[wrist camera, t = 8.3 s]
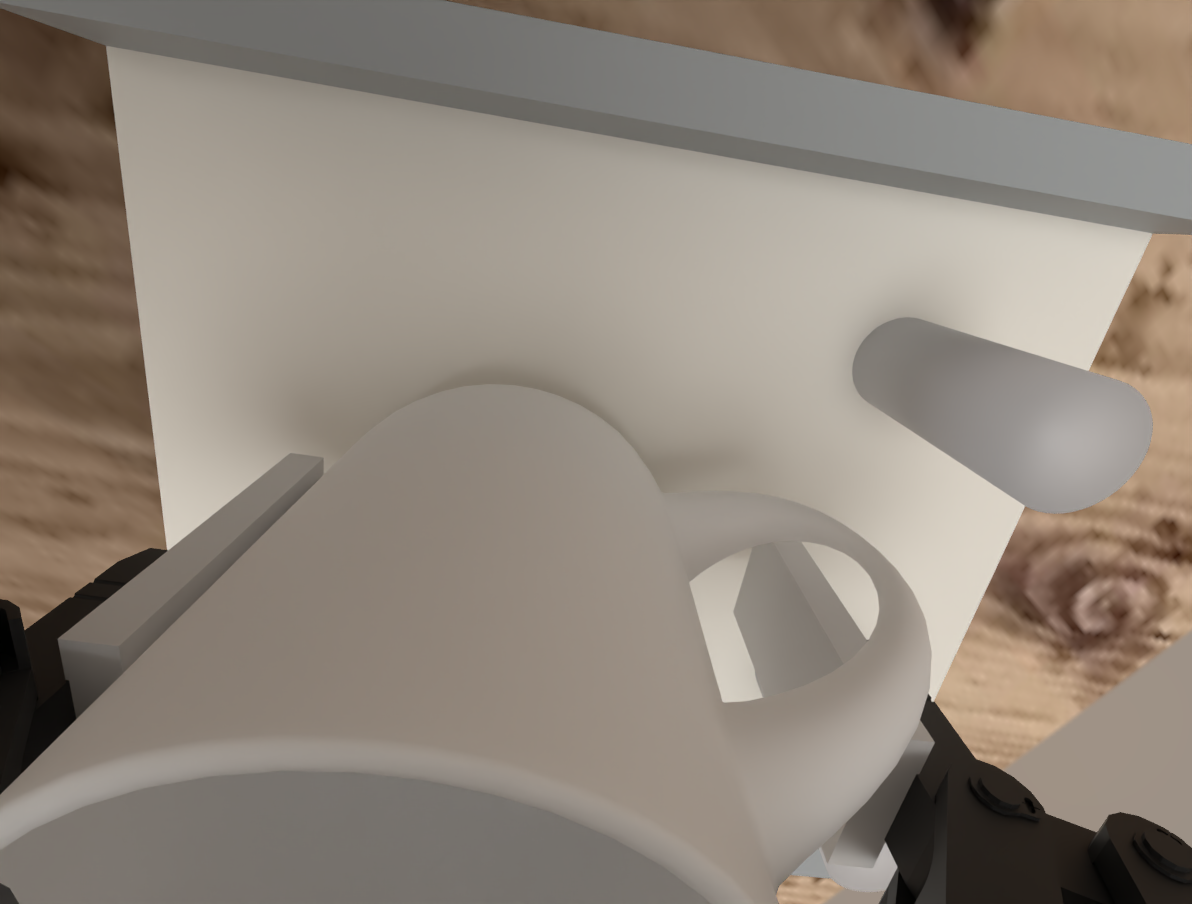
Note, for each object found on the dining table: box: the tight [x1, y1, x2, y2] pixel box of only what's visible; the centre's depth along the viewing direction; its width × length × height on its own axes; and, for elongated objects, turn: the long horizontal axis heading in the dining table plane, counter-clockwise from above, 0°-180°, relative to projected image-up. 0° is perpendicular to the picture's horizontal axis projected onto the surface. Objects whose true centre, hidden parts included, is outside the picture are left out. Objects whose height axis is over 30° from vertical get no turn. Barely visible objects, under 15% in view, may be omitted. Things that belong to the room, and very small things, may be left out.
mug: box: [0, 384, 932, 904], centre depth 11 cm, size 9×12×11 cm
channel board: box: [0, 0, 1192, 892], centre depth 14 cm, size 20×24×7 cm
